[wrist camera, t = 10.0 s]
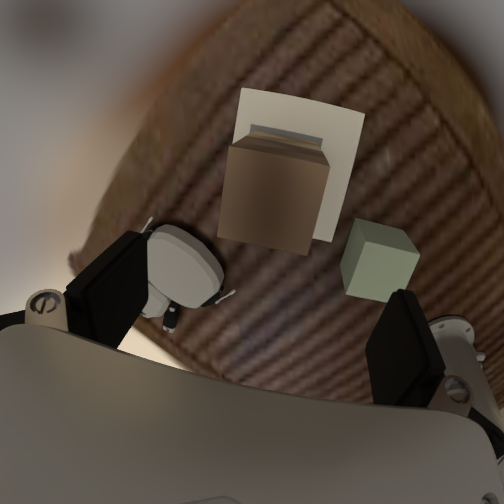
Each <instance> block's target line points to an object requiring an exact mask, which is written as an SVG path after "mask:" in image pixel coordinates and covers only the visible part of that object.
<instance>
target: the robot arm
mask: <svg viewBox="0 0 504 504" xmlns="http://www.w3.org/2000/svg"><path fill="white" fill-rule="evenodd" d="M66 289H67V290H66V291H65V292H64V293H63V294H62V293H61V292H59V291H57V290H54V289H44V290H41V291H38V292H36V293H34V294H33V295H32V296H31V297H30V298H29V299H28V300H27V303H26V308H25V310H22V311H18V312H13V313H9V314H4V315H0V504H504V422H503V420H502V417H501V414H500V412H499V409H498V406H497V404H496V401H495V399H494V396H493V394H492V391H491V389H490V387H489V384H488V382H487V380H486V377H485V375H484V373H483V371H482V364H481V362H478V361H483V360H484V358H485V354H484V353H482V352H476V350H475V348H474V346H473V342H474V337H475V336H474V330H473V327H472V326H471V324H470V322H469V321H468V320H467V319H465V318H463V317H460V316H446V317H441V318H438V319H436V320H433V321H431V322H429V323H428V322H427V320H426V318H425V315H424V313H423V311H422V309H421V307H420V305H419V303H418V300H417V298H416V296H415V294H414V292H413V291H410V290H405V289H398V290H397V291H394V292H392V294H391V296H390V298H389V300H388V302H387V304H386V306H385V308H384V310H383V313H382V315H381V317H380V319H379V321H378V323H377V324H376V326H375V328H374V330H373V332H372V334H371V336H370V338H369V340H368V342H367V344H366V349H365V351H366V357H367V363H368V369H369V375H370V381H371V388H372V395H373V402H374V404H367V403H356V402H346V401H337V400H329V399H322V398H314V397H308V396H301V395H295V394H289V393H283V392H277V391H272V390H267V389H261V388H256V387H252V386H247V385H242V384H238V383H233V382H229V381H224V380H220V379H216V378H212V377H208V376H204V375H200V374H197V373H193V372H189V371H185V370H182V369H178V368H175V367H171V366H167V365H164V364H161V363H158V362H154V361H151V360H148V359H145V358H142V357H139V356H136V355H133V354H130V353H127V352H124V351H121V350H118V349H117V348H118V346H119V345H120V343H121V342H122V340H123V338H124V337H125V335H126V334H127V332H128V331H129V329H130V328H131V326H132V325H133V323H134V322H135V320H136V319H137V317H138V316H139V314H140V313H141V312H142V310H143V309H144V307H145V306H146V304H147V302H148V298H149V289H148V250H147V239H146V238H144V236H143V234H142V233H138V232H134V231H127V232H126V233H124V234H123V235H122V236H121V237H120V238H119V239H117V240H116V241H115V242H114V243H113V244H112V245H111V246H109V247H108V248H107V249H106V250H105V251H104V252H103V253H102V254H100V255H99V256H98V257H97V258H96V259H95V260H94V261H93V262H92V263H91V264H90V265H88V266H87V267H86V268H85V269H84V270H83V271H82V272H81V273H80V274H79V275H78V276H77V277H76V278H75V279H74V280H73V281H72V282H70V283H69V284H68V285H67V286H66Z"/></svg>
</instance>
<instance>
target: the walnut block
mask: <svg viewBox="0 0 504 504" xmlns="http://www.w3.org/2000/svg"><path fill="white" fill-rule="evenodd" d="M329 171H330V165H329V163H328V161H327V159H326V157H325V155H324V153H323V151H319V150H314V149H310V148H305V147H301V146H296V145H292V144H287V143H282V142H277V141H272V140H266V139H261V138H255V137H249V136H245V137H243V138H241V139H240V140H238V141H237V142H235V143H233V144H232V145H230V146H229V150H228V157H227V164H226V171H225V178H224V185H223V193H222V200H221V208H220V216H219V224H218V232H217V237H220V238H225V239H229V240H234V241H239V242H244V243H248V244H253V245H258V246H263V247H267V248H272V249H277V250H281V251H286V252H291V253H296V254H300V255H305V256H307V255H308V251H309V248H310V244H311V241H312V237H313V233H314V230H315V226H316V222H317V218H318V214H319V211H320V207H321V203H322V199H323V195H324V191H325V187H326V183H327V179H328V175H329Z"/></svg>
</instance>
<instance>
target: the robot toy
mask: <svg viewBox="0 0 504 504" xmlns="http://www.w3.org/2000/svg"><path fill="white" fill-rule="evenodd" d="M152 220H153V217H151V218H150V219H149V220H148V222H147V224H146V225H145V227H144V228H143V230H142V231H141V232H140V233H142V234H143V236H144V238H146V239H147V250H148V289H149V298H148V302H147V304H146V306H145V307H144V309H143V310H142V312H141V313H144V314H143V315H142V316H144V317H146V318H150V317H159V316H162V315H163V313H164V312H165V311H166V309H167V307H168V306H169V307H170V308H169V309H168V310H167V311H166V312H165V314H164V319H163V328H164V330H166V331H167V330H168V329H169V330H170V331H169V332H170V333H173V332H174V331H175V327H176V324H177V320H178V315H179V313H178V312H177V310H176V308H177V307H178V306H179V304H181V305H183V306H185V307H190V308H198V307H199V306H202V307H206V306H209V305H212V304H213V303H216V304H217V303H219V302H220V300H222V299H224V298H226V297H227V296H229V295H232V294H234V292H235V291H236V290H234V289H233V290H232V291H231V292H229V293H227V294H226V295H224V296H222V297H221V298H220V296H221V293H222V291H223V288H224V287H223V285H222V282H223V279H224V273H223V270H222V267H221V265H220V264H219V262H218V261H217V259H216V258H215V257H214V255H213V254H212V253H211V252H210V251H209V250H208V249H207V247H206V246H205V245H204V244H203V243H202V242H200V241H199V240H198V239H196V238H195V237H193V236H192V235H190V234H189V233H187V232H186V231H184V230H182V229H180V228H178V227H176V226H172V225H167V224H166V225H163V226H161V227H156V226H153V227H151V228H149V229H147V230H146V231H145V229H146V228H147V226H148V225H149V223H150V222H151V221H152ZM144 231H145V232H144Z"/></svg>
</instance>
